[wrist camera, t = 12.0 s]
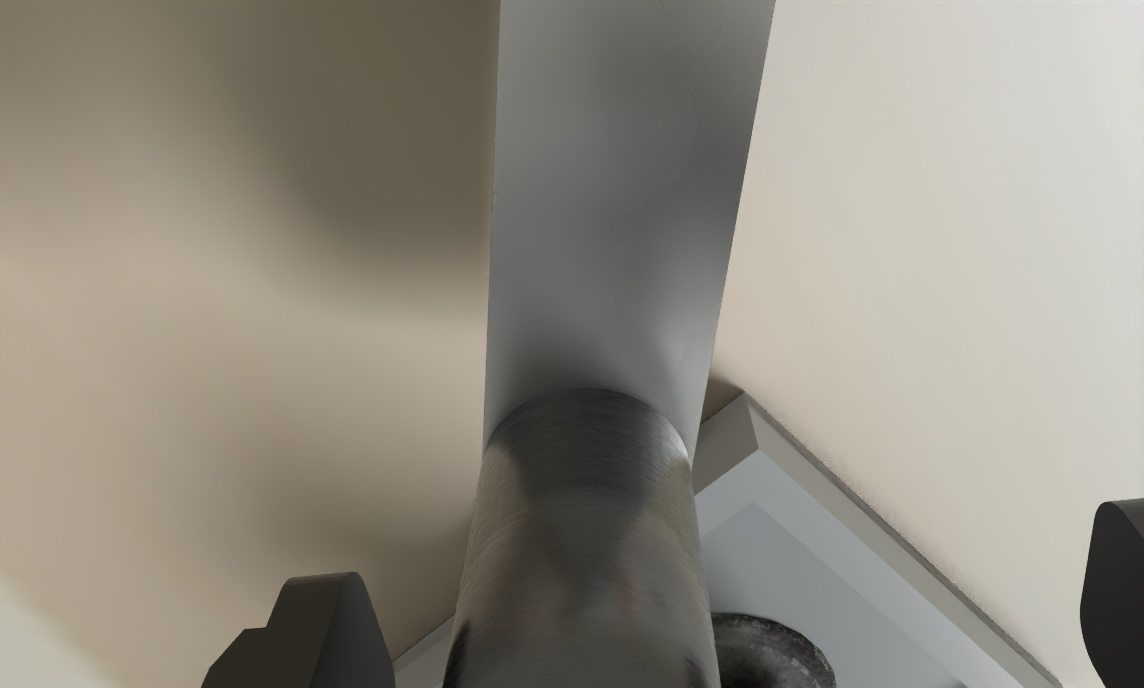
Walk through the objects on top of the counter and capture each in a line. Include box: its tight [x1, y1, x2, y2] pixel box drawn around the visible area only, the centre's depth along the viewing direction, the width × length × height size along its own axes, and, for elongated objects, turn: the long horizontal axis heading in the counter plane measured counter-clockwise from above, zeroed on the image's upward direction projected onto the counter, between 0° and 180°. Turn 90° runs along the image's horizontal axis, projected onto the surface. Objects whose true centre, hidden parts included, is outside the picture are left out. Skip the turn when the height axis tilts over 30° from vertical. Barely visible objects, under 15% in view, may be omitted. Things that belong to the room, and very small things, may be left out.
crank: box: [442, 0, 776, 688], centre depth 8 cm, size 13×5×8 cm, turn 175°
